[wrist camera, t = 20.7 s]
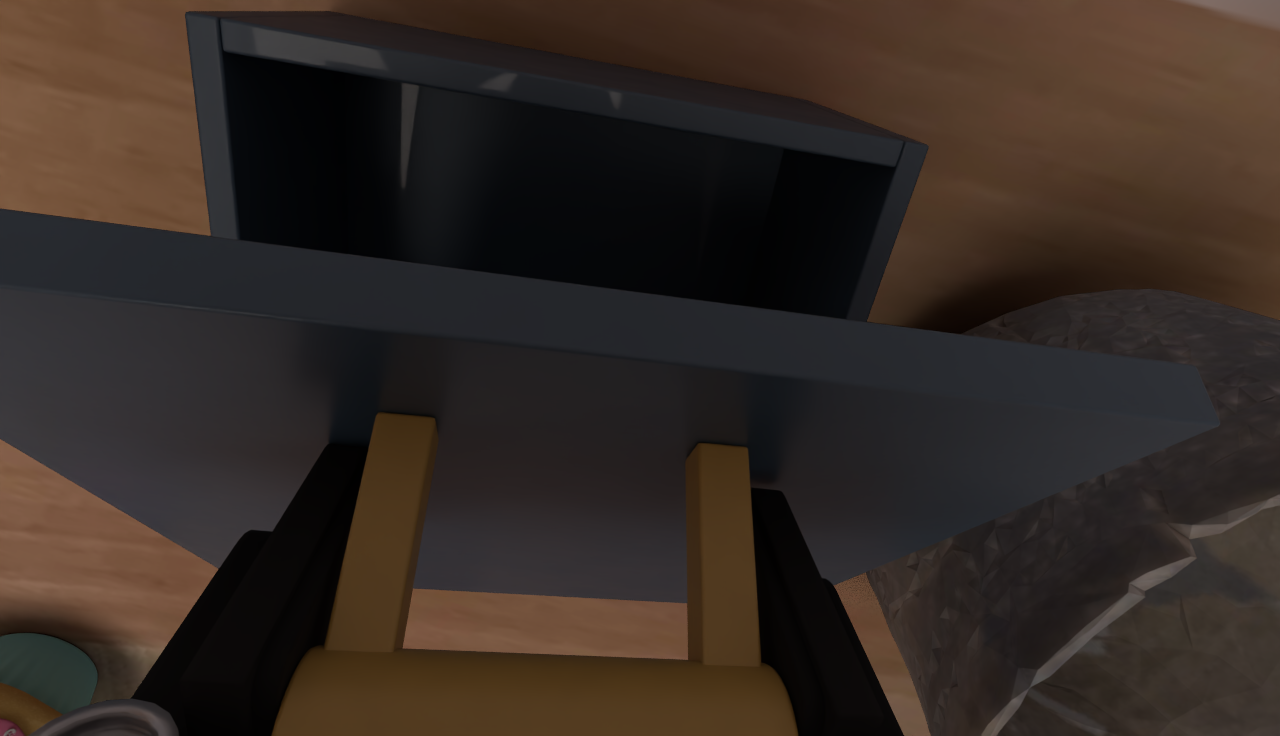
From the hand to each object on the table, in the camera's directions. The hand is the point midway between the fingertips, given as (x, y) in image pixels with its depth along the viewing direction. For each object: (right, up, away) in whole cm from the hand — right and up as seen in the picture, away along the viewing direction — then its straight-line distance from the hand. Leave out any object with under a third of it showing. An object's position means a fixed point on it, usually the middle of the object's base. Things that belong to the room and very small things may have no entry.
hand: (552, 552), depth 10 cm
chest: (-2, +7, +14) cm, 16 cm away
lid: (0, 0, +3) cm, 3 cm away
